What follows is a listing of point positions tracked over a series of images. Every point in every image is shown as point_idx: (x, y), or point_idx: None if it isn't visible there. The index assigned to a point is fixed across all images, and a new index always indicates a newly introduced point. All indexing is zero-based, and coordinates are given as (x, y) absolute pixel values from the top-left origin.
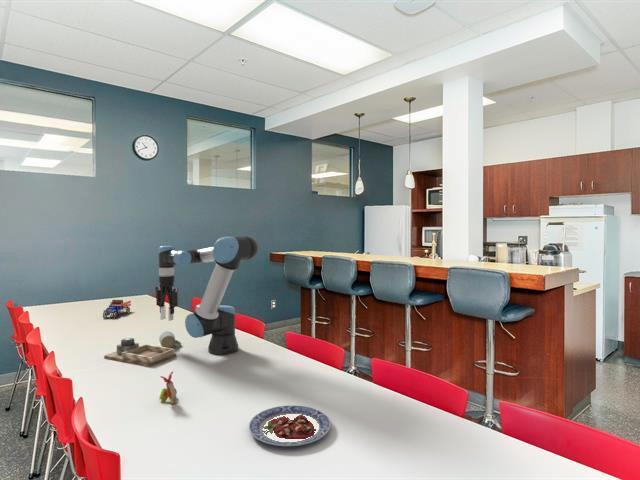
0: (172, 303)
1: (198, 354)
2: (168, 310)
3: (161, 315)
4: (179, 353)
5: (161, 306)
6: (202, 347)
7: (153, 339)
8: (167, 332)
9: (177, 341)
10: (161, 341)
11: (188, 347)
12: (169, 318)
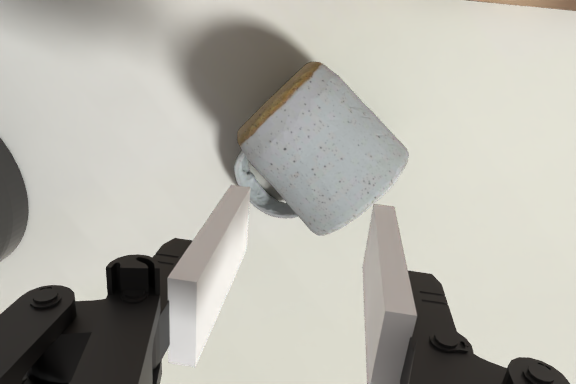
0: (29, 342)
1: (5, 55)
2: (209, 258)
3: (381, 231)
4: (137, 28)
5: (411, 345)
6: (95, 199)
7: (561, 271)
8: (332, 189)
9: (287, 212)
10: (320, 67)
11: (178, 173)
12: (225, 197)
